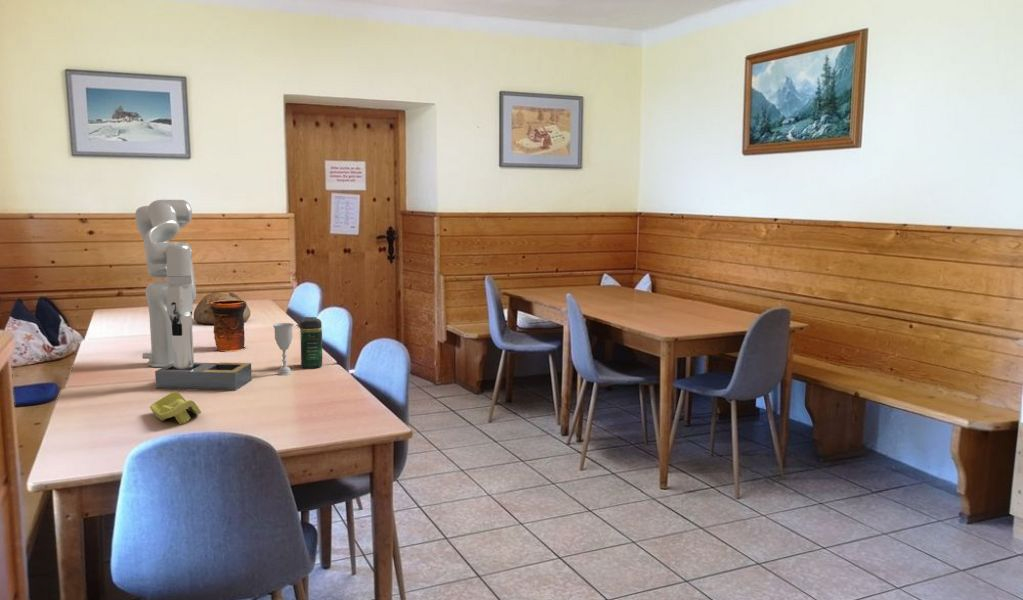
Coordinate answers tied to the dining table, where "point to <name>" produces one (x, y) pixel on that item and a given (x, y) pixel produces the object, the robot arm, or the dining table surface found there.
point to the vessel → (228, 324)
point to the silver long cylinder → (184, 345)
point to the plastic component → (174, 407)
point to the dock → (205, 376)
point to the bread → (205, 313)
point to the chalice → (283, 343)
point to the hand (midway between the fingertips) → (182, 333)
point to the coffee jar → (311, 342)
